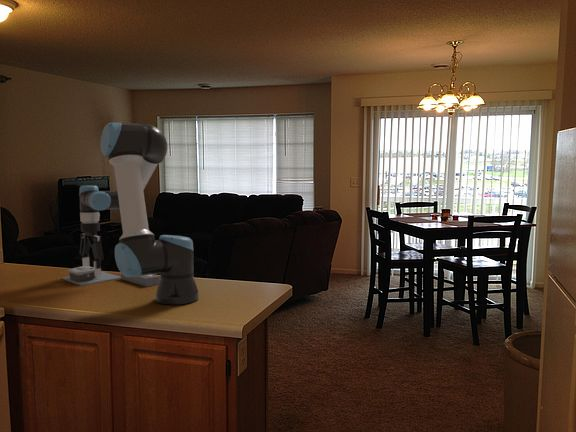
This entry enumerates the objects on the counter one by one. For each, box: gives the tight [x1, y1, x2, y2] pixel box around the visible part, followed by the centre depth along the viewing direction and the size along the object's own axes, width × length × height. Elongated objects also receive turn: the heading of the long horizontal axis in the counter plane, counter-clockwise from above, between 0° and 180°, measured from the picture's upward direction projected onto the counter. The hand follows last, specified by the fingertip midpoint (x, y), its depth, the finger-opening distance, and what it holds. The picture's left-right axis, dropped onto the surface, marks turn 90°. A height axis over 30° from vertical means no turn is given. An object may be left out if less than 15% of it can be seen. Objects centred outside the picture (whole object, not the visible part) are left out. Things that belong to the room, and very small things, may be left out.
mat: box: [61, 270, 122, 287], centre depth 216 cm, size 18×18×1 cm
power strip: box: [120, 272, 161, 288], centre depth 210 cm, size 20×6×4 cm, turn 47°
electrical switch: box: [67, 265, 97, 281], centre depth 212 cm, size 9×5×9 cm
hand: (91, 274), depth 215 cm, fingers closed on electrical switch, 10 cm apart
